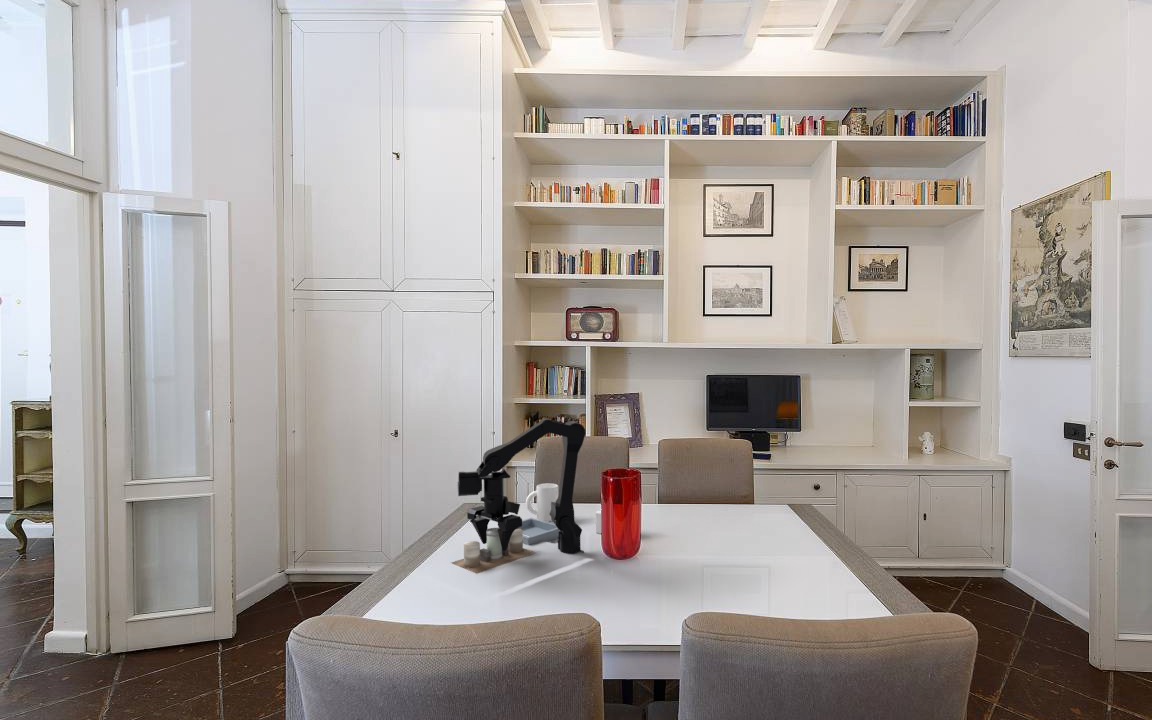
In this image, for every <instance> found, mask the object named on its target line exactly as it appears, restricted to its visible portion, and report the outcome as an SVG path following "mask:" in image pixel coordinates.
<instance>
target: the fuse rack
mask: <svg viewBox="0 0 1152 720" xmlns="http://www.w3.org/2000/svg"><path fill="white" fill-rule="evenodd" d="M536 553H537V551H534V550H530V549H529V548H524V543H523V530H522V529H516V530H515V531H514V532H513V533H512V535H511V538H510V541H509V544H508V547H507V550H506V551H503V550H502V558H501V559H499V560H490V550H487V548H484V547H483V548H481V543H480V542H479V541H476V540H474V541H473V540H471V541H467V542H466V541H465V542H464V543H463V558H461V559H458V560H455V561H452V562H451V564H452V565H455V566H457V567H460V568H462V569H465V570H467V571H469V572H471V573H475V574H477V575H478V574H479V573H483V572H485V571H488V570H491V569H493V568H496V567H499V566H502V565H506V564H507V563H511V562H514V561H516V560H519V559H522V558H524V557H528V556H531V555H534V554H536Z"/></svg>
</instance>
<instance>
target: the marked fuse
mask: <svg viewBox="0 0 1152 720" xmlns="http://www.w3.org/2000/svg"><path fill="white" fill-rule="evenodd" d="M497 529H500V528H498V527H491V528H490V527H489V528H488V529H487V530H486V535H487V543H486V549H487V550H490V560H499V559H501V558H502V547H501V542H500V538H499V534H498V530H497Z"/></svg>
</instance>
